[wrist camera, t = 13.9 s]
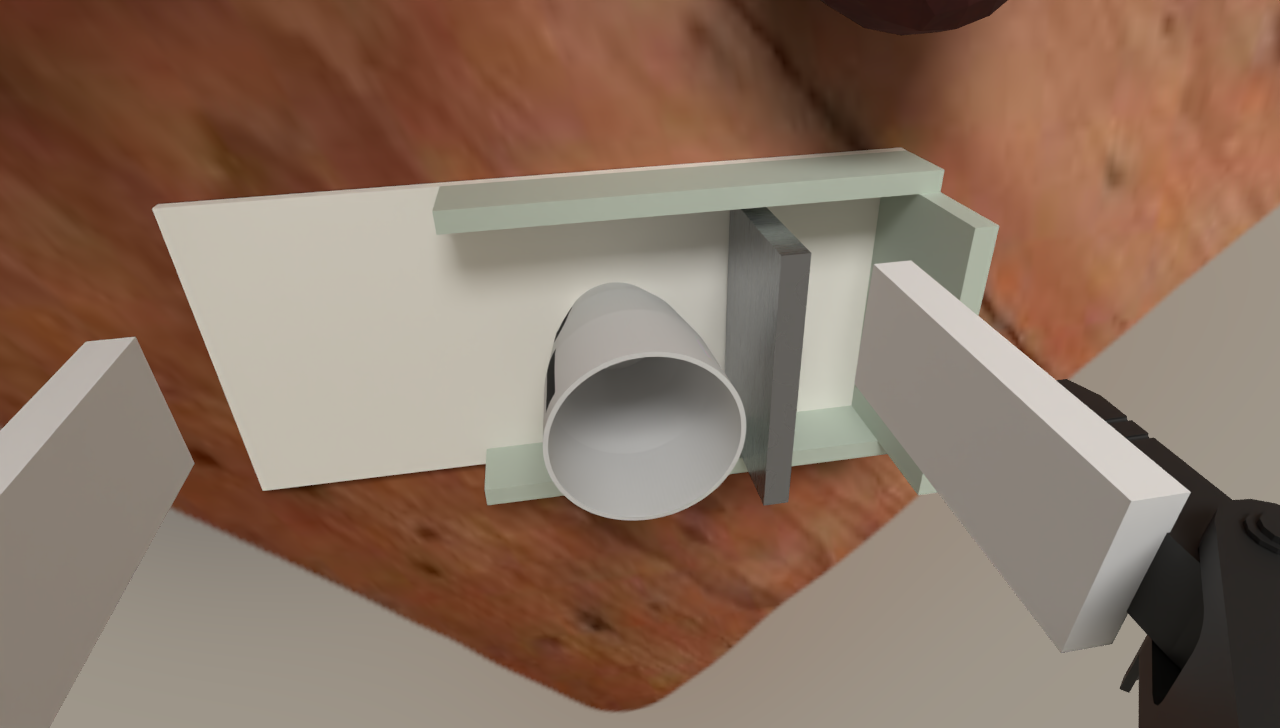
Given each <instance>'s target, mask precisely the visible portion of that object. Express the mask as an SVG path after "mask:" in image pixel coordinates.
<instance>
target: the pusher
mask: <svg viewBox="0 0 1280 728" xmlns="http://www.w3.org/2000/svg"><path fill="white" fill-rule="evenodd" d="M810 263H811V252H810V251H809V250H808V249H807V248H806V247H805V246H804V245H803V244H802V243H801V242H800V241H799V240H798V239H797V238H796V237H795V236H794V235H793V234H792V233H791V232H790V231H789V230H788V229H787V228H786V227H785V226H784V225H783V224H782V223H781V222H780V221H779V220H778V219H777V218H776V217H775V216H774V214H773V213H772V212H771V211H770V210H769V209H768V208H767V207H760V208H748V209H736V210H730V222H729V254H728V287H727V319H726V352H725V374H726V376H727V377H728V379H729V380H730V382H731V384H732V385H733V387H734V388H735V390H736V391H737V393H738V395H739V397H740V399H741V401H742V404H743V407H744V411H745V416H746V436H745V442H744V446H743V449H742V452H741V456H742V459H743V461H744V463H745V465H746V467H747V470H748V472H749V474H750V476H751V479H752V481H753V483H754V485H755V487H756V490H757V492H758V494H759V496H760V498H761V501H762V503H763V505H771V504H778V503H785V502H788V498H789V487H790V477H791V466H792V455H793V445H794V434H795V423H796V413H797V402H798V391H799V381H800V370H801V359H802V349H803V338H804V327H805V317H806V306H807V295H808V285H809V274H810Z"/></svg>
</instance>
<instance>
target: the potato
mask: <svg viewBox="0 0 1280 728" xmlns="http://www.w3.org/2000/svg"><path fill="white" fill-rule="evenodd" d="M821 1H823V2H824V3H825V4H827V5H828V6H830V7H831V8H833V9H834V10H836V11H838V12H839V13H841V14H843V15H844V16H846V17H848V18H849V19H851V20H852V21H854V22H856V23H857V24H859V25H861V26H862V27H864V28H868V29H873V30H877V31H882V32H887V33H892V34H897V35H911V34H922V33H933V32H941V31H947V30H953V29H957V28H960V27H962V26H965V25H967V24H970V23H972V22H975V21H977V20H980V19H982V18H985V17H987V16H990V15H991V14H992V13H993V12H994V11H995V10H997V9H998V8H999V7H1000V6H1001V5H1003V4H1004V3H1005V2H1006V1H1007V0H821Z"/></svg>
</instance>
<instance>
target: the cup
mask: <svg viewBox="0 0 1280 728" xmlns="http://www.w3.org/2000/svg"><path fill="white" fill-rule="evenodd" d="M745 436H746V416H745V411H744V407H743V404H742V401H741V399H740V397H739V395H738V393H737V391H736V390H735V388H734V387H733V385H732V384H731V382H730V380H729V379H728V377H727V376H726V374H725V373H724V371H723V370H722V368H721V367H720V365H719V364H718V362H717V360H716V359H715V357H714V356H713V354H712V353H711V351H710V350H709V348H708V347H707V345H706V344H705V342H704V341H703V339H702V338H701V337H700V336H699V334H698V333H697V332H696V331H695V330H694V329H693V328H692V327H691V326H690V325H689V324H688V323H687V322H686V321H685V320H684V319H683V318H682V317H681V316H680V315H679V314H678V313H677V312H676V311H675V310H674V309H673V308H672V307H671V306H670V305H669V304H668V303H667V302H665V301H664V300H662V299H661V298H659V297H657V296H655V295H653V294H651V293H649V292H647V291H645V290H643V289H641V288H639V287H637V286H635V285H632V284H628V283H621V282H613V283H606V284H602V285H599V286H596V287H594V288H592V289H590V290H588V291H587V292H585V293H584V294H582V295H581V296H580V297H579V298H578V299H577V300H576V301H575V303H574V304H573V305H572V307H571V309H570V310H569V312H568V313H567V315H566V316H565V318H564V320H563V321H562V323H561V325H560V326H559V328H558V331H557V333H556V336H555V339H554V344H553V348H552V352H551V356H550V361H549V365H548V369H547V373H546V378H545V386H544V417H543V457H544V462H545V465H546V468H547V471H548V473H549V476H550V477H551V479H552V481H553V483H554V484H555V486H556V487H557V488H558V489H559V491H560V492H561V493H562V494H563V495H564V496H565V497H566V498H568V499H569V500H570V501H571V502H573V503H574V504H576V505H577V506H579V507H580V508H582V509H584V510H586V511H588V512H591V513H593V514H596V515H599V516H602V517H606V518H611V519H617V520H648V519H654V518H659V517H664V516H667V515H671V514H674V513H676V512H679V511H681V510H684V509H686V508H688V507H690V506H692V505H694V504H696V503H697V502H699V501H701V500H702V499H704V498H705V497H706V496H708V495H709V494H710V493H712V492H713V491H714V490H715V489H716V488H717V487H718V486H719V485H720V484H721V483H722V482H723V481H724V480H725V479H726V478H727V476H728V475H729V474H730V472H731V471H732V469H733V468H734V466H735V465H736V463H737V461H738V459H739V457H740V454H741V452H742V449H743V446H744V442H745Z"/></svg>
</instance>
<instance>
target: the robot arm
mask: <svg viewBox="0 0 1280 728" xmlns="http://www.w3.org/2000/svg"><path fill="white" fill-rule="evenodd" d="M854 384H855V385H856V387H857V388H858V389H859V391H860V392H861V393H862V394H863V396H864V397H865V398H866V400H867V401H868V402H869V404H870V405H871V406H872V408H873V409H874V410H875V411H876V413H877V414H878V415H879V417H880V418H881V419H882V421H883V422H884V423H885V424H886V426H887V427H888V428H889V430H890V431H891V432H892V434H893V435H894V436H895V437H896V439H897V440H898V441H899V443H900V444H901V445H902V447H903V448H904V449H905V451H906V452H907V453H908V454H909V456H910V457H911V458H912V460H913V461H914V462H915V464H916V465H917V466H918V467H919V469H920V470H921V471H922V473H923V474H924V475H925V477H926V478H927V479H928V480H929V482H930V483H931V484H932V486H933V487H934V488H935V490H936V491H937V492H938V494H939V495H940V496H941V497H942V499H943V500H944V501H945V503H946V504H947V505H948V506H949V508H950V509H951V510H952V512H953V513H954V514H955V516H956V517H957V518H958V520H959V521H960V522H961V524H963V526H964V527H965V529H966V530H967V531H968V533H969V534H970V535H971V536H972V538H973V539H974V540H975V542H976V543H977V544H978V546H979V547H980V548H981V550H982V551H983V552H984V553H985V554H986V556H987V557H988V559H989V560H990V561H991V562H992V564H993V565H994V567H995V568H996V569H997V570H998V572H999V573H1000V574H1001V575H1002V577H1003V578H1004V579H1005V581H1006V582H1007V583H1008V585H1009V586H1010V587H1011V588H1012V590H1013V591H1014V593H1015V594H1016V595H1017V596H1018V598H1019V599H1020V600H1021V602H1022V603H1023V604H1024V606H1025V607H1026V608H1027V610H1028V611H1029V612H1030V613H1031V615H1032V616H1033V617H1034V619H1035V620H1036V621H1037V622H1038V624H1039V625H1040V626H1041V628H1042V629H1043V630H1044V632H1045V633H1046V634H1047V636H1048V637H1049V638H1050V640H1051V641H1052V642H1053V643H1054V645H1055V646H1056V647H1057V649H1058V650H1059V651H1060V652H1061V653H1065V652H1070V651H1075V650H1081V649H1087V648H1092V647H1097V646H1104V645H1109V644H1112V643H1113V641H1114V639H1115V637H1116V636H1117V634H1118V632H1119V630H1120V628H1121V625H1122V624H1123V622H1124V620H1125V618H1126V616H1127V614H1129V615H1130V616H1131V617H1132V618H1133V619H1134V620H1135V621H1136V622H1137V624H1138V625H1139V626H1140V627H1141V628H1142V629H1143V630H1144V631H1145V632H1146V634H1147V636H1146V638H1145V640H1144V642H1143V643H1142V645H1141V647H1140V649H1139V651H1138V652H1137V655H1136V656H1135V658H1134V660H1133V662H1132V663H1131V665H1130V667H1129V669H1128V670H1127V672H1126V674H1125V676H1124V678H1123V681H1122V684H1121V686H1120V689H1121V690H1124V691H1126V692H1129V691H1130V690H1131V688H1132V687H1133V685H1134V683H1135V681H1136V680H1138V679H1139V728H1280V505H1278V504H1275V503H1270V502H1264V501H1258V500H1253V499H1244V500H1232V499H1230V498H1229V497H1228V496H1226V494H1224V493H1223V492H1222V491H1220V490H1219V489H1218V488H1217V487H1215V486H1214V485H1213V484H1211V483H1210V482H1209V481H1208V480H1207V479H1205V478H1204V477H1203V476H1202V475H1200V474H1199V473H1198V472H1196V471H1195V470H1194V469H1193V468H1191V467H1190V466H1189V465H1187V464H1186V463H1185V462H1184V461H1183V460H1181V459H1180V458H1179V457H1178V456H1176V455H1175V454H1174V453H1173V452H1171V451H1170V450H1169V449H1167V448H1166V447H1165V446H1164V445H1162V444H1161V443H1160V442H1159V441H1157V440H1156V439H1155V438H1149V437H1148V433H1147V432H1146V431H1145V430H1143V429H1142V428H1141V427H1140V426H1138V425H1137V424H1136V423H1135V422H1133V421H1132V420H1131V421H1128V420H1127V416H1126V415H1125V414H1123V413H1122V412H1121V411H1120V410H1118V409H1117V408H1116V407H1114V406H1113V405H1112V404H1111V403H1109V402H1108V401H1107V400H1106V399H1104V398H1103V397H1102V396H1100V395H1098V394H1096V393H1094V392H1092V391H1090V390H1088V389H1086V388H1084V387H1082V386H1080V385H1078V384H1076V383H1074V382H1071V381H1069V380H1067V379H1063V380H1055V379H1054V378H1052V377H1051V376H1050V375H1049V374H1048V373H1046V372H1045V371H1044V370H1043V369H1042V368H1040V367H1039V366H1038V365H1037V364H1036V363H1034V362H1033V361H1032V360H1031V359H1029V358H1028V357H1027V356H1026V355H1025V354H1023V353H1022V352H1021V351H1020V350H1019V349H1017V348H1016V347H1015V346H1014V345H1013V344H1011V343H1010V342H1009V341H1008V340H1007V339H1005V338H1004V337H1003V336H1002V335H1001V334H999V333H998V332H997V331H996V330H994V329H993V328H992V327H991V326H990V325H988V324H987V323H986V322H985V321H984V320H982V319H981V318H980V317H979V316H978V315H976V314H975V313H974V312H973V311H972V310H970V309H969V308H968V307H967V306H966V305H964V304H963V303H962V302H961V301H960V300H958V299H957V298H956V297H955V296H953V295H952V294H951V293H950V292H949V291H947V290H946V289H945V288H944V287H943V286H941V285H940V284H939V283H938V282H937V281H935V280H934V279H933V278H932V277H931V276H929V275H928V274H927V273H926V272H925V271H923V270H922V269H921V268H920V267H918V266H917V265H916V264H915V263H914V262H912V261H911V260H910V261H899V262H889V263H879V264H874V265H873V271H872V277H871V283H870V289H869V295H868V301H867V308H866V314H865V320H864V326H863V332H862V338H861V344H860V350H859V356H858V363H857V369H856V375H855V381H854ZM193 465H194V461H193V459H192V457H191V455H190V453H189V450H188V448H187V446H186V444H185V442H184V440H183V438H182V435H181V433H180V431H179V429H178V427H177V425H176V423H175V420H174V418H173V416H172V414H171V412H170V410H169V408H168V405H167V403H166V401H165V399H164V397H163V395H162V393H161V390H160V388H159V386H158V384H157V382H156V380H155V377H154V375H153V373H152V371H151V369H150V367H149V365H148V362H147V360H146V358H145V356H144V354H143V352H142V350H141V347H140V345H139V343H138V341H137V339H136V337H128V338H118V339H108V340H98V341H88V342H85V343H84V344H83V345H82V346H81V347H80V348H79V349H78V350H77V351H76V353H75V354H74V355H73V356H72V357H71V358H70V359H69V360H68V361H67V362H66V363H65V364H64V365H63V366H62V367H61V368H60V369H59V370H58V371H57V372H56V373H55V374H54V375H53V376H52V377H51V379H50V380H49V381H48V382H47V383H46V384H45V385H44V386H43V387H42V388H41V389H40V390H39V391H38V392H37V393H36V394H35V395H34V396H33V397H32V398H31V399H30V400H29V401H28V402H27V403H26V405H25V406H24V407H23V408H22V409H21V410H20V411H19V412H18V413H17V414H16V415H15V416H14V417H13V418H12V419H11V420H10V421H9V422H8V423H7V424H6V425H5V426H4V427H3V428H2V429H1V431H0V728H49V727H50V726H51V724H52V722H53V720H54V718H55V716H56V715H57V713H58V711H59V709H60V707H61V706H62V704H63V702H64V700H65V698H66V696H67V695H68V693H69V691H70V689H71V687H72V685H73V684H74V682H75V680H76V678H77V676H78V674H79V673H80V671H81V669H82V667H83V666H84V664H85V662H86V660H87V658H88V656H89V655H90V653H91V651H92V649H93V647H94V646H95V644H96V642H97V640H98V638H99V636H100V634H101V633H102V631H103V629H104V627H105V625H106V624H107V622H108V620H109V618H110V616H111V615H112V613H113V611H114V609H115V607H116V605H117V604H118V602H119V600H120V598H121V596H122V594H123V593H124V591H125V589H126V587H127V585H128V584H129V582H130V580H131V578H132V576H133V574H134V572H135V571H136V569H137V567H138V565H139V563H140V562H141V560H142V558H143V556H144V554H145V553H146V551H147V549H148V547H149V545H150V543H151V542H152V540H153V538H154V536H155V534H156V533H157V531H158V529H159V527H160V525H161V523H162V522H163V520H164V518H165V516H166V514H167V513H168V511H169V509H170V507H171V505H172V504H173V502H174V500H175V498H176V496H177V494H178V493H179V491H180V489H181V487H182V485H183V483H184V482H185V480H186V478H187V476H188V474H189V473H190V471H191V469H192V467H193Z"/></svg>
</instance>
